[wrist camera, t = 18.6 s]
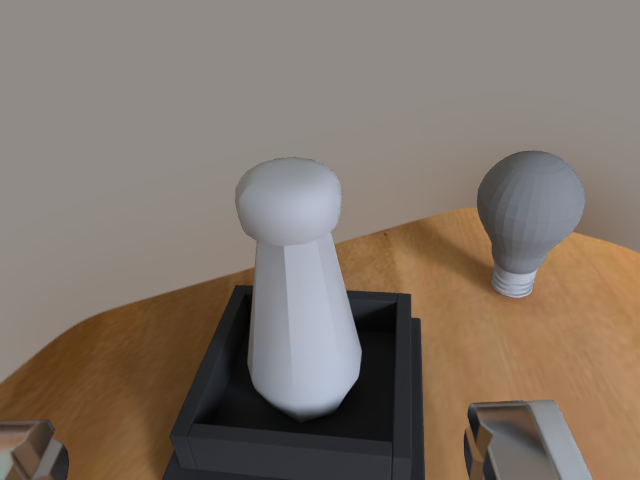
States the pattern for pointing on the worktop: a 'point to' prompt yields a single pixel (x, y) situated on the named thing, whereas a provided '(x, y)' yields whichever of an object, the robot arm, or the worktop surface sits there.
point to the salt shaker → (297, 288)
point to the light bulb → (527, 215)
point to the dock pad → (317, 434)
